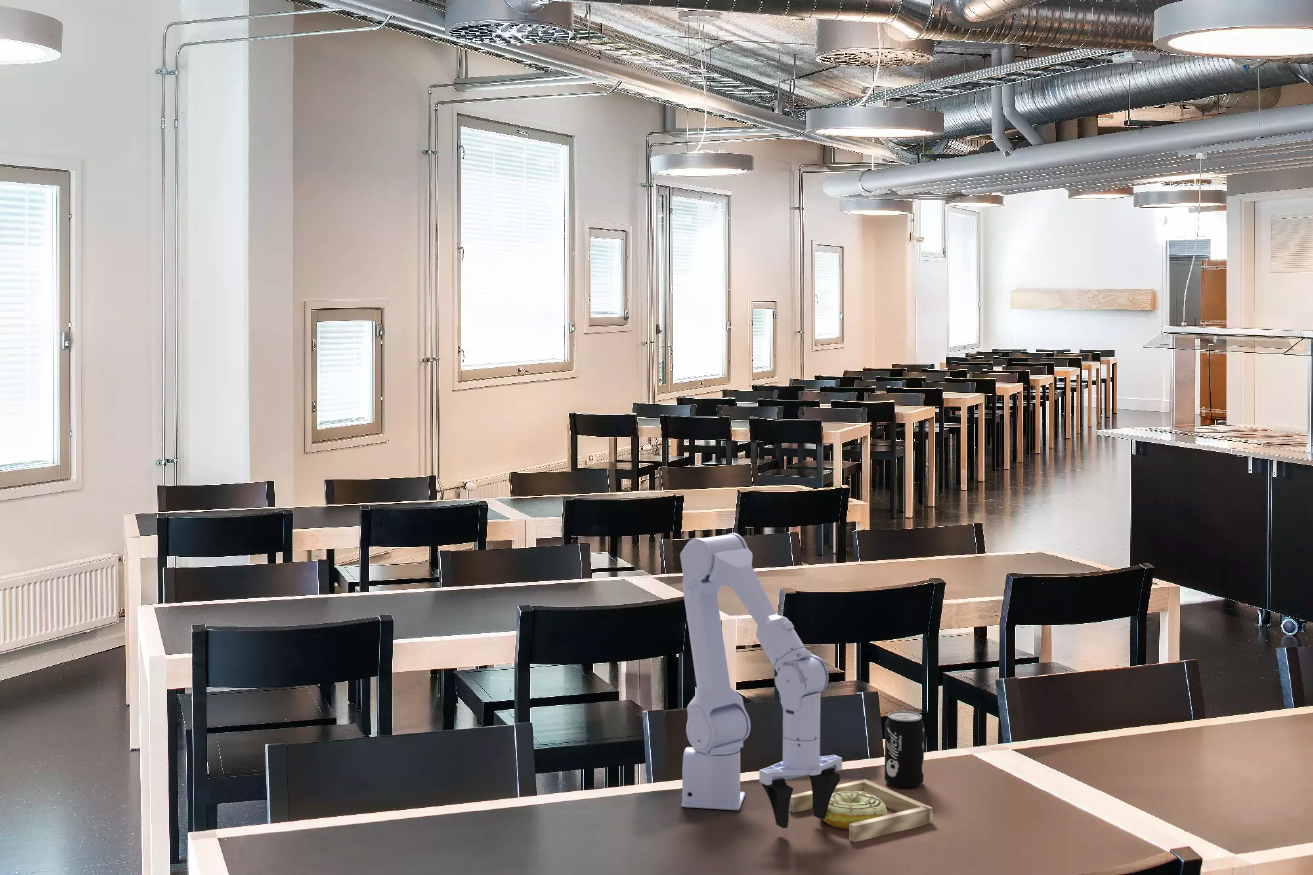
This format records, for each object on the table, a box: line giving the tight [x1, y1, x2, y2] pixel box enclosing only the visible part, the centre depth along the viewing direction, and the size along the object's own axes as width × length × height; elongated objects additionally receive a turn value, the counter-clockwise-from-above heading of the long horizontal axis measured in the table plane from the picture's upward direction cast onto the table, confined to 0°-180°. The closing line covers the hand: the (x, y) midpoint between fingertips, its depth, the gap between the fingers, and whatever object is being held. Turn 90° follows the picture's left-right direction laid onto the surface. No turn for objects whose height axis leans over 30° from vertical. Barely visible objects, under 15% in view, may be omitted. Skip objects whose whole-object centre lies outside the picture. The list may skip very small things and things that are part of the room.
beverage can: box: [884, 710, 925, 790], centre depth 234 cm, size 7×7×12 cm
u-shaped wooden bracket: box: [789, 778, 934, 843], centre depth 218 cm, size 16×16×2 cm
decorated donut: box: [822, 791, 888, 830], centre depth 217 cm, size 10×11×4 cm
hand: (800, 821), depth 212 cm, fingers open, 7 cm apart
